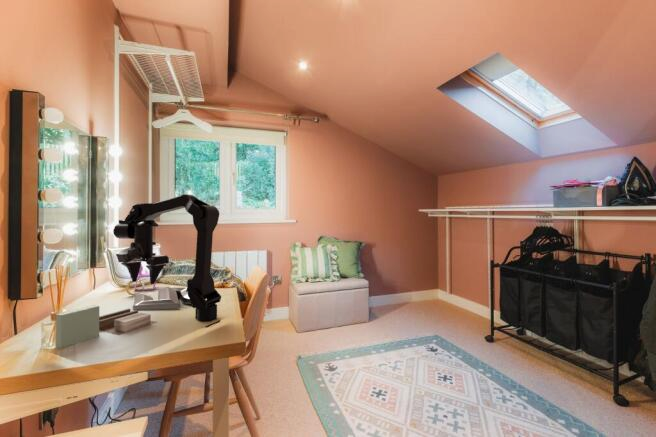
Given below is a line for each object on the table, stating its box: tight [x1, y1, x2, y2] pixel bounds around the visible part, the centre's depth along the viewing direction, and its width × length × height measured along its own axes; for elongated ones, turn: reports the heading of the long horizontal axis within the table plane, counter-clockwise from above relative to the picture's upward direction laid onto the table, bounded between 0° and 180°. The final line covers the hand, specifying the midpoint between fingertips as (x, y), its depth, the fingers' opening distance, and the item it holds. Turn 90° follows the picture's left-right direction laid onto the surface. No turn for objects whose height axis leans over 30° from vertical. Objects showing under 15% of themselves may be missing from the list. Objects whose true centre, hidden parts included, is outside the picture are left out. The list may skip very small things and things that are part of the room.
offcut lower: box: [114, 319, 152, 333], centre depth 93 cm, size 5×8×2 cm, turn 157°
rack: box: [99, 308, 157, 336], centre depth 95 cm, size 16×12×4 cm
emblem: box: [132, 286, 192, 311], centre depth 122 cm, size 28×5×28 cm
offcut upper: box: [114, 312, 152, 327], centre depth 93 cm, size 5×8×2 cm, turn 156°
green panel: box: [55, 304, 100, 349], centre depth 82 cm, size 2×9×10 cm, turn 157°
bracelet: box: [125, 278, 145, 297], centre depth 135 cm, size 7×3×8 cm, turn 116°
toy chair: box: [133, 264, 156, 293], centre depth 147 cm, size 8×9×15 cm
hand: (143, 283), depth 106 cm, fingers open, 9 cm apart
